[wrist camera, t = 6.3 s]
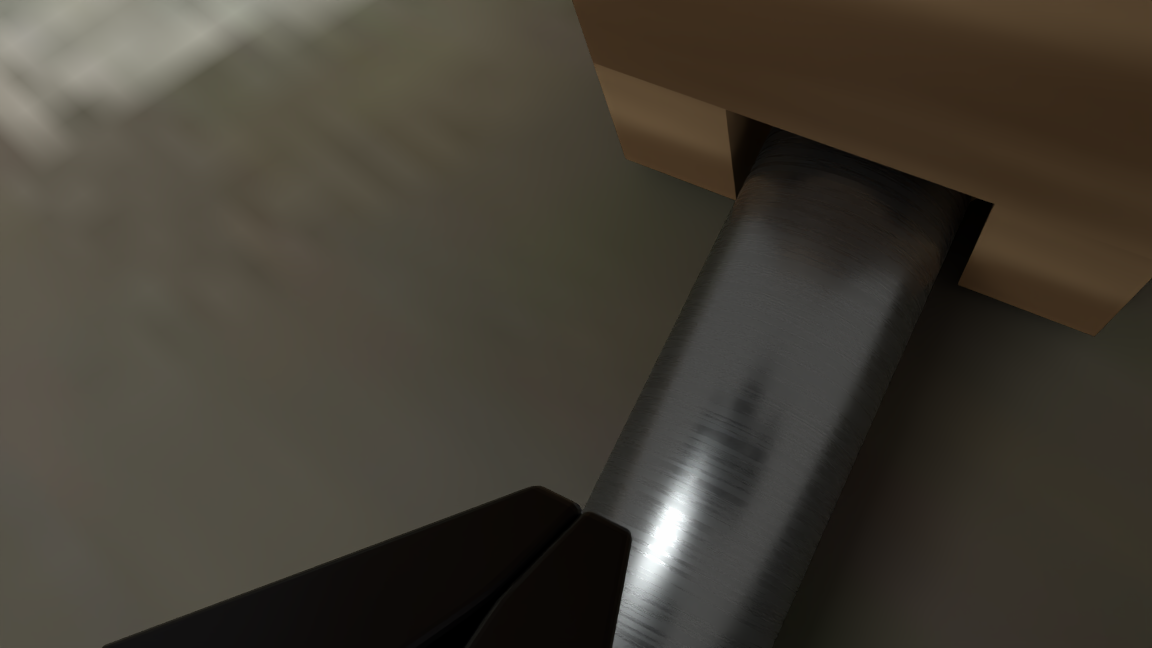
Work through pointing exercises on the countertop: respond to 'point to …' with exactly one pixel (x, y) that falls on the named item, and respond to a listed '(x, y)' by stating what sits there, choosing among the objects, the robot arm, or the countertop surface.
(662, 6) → the rectangular wooden block
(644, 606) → the steel pipe
